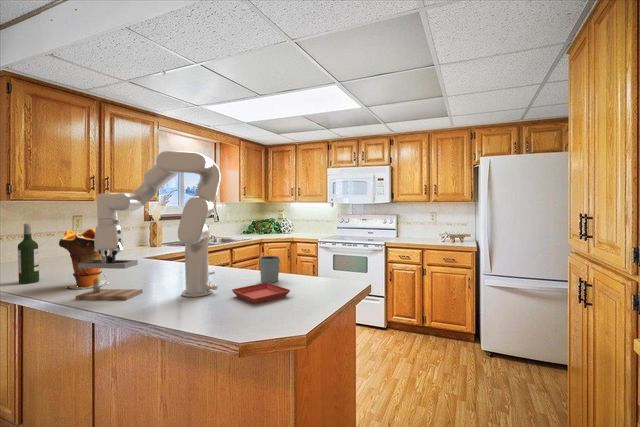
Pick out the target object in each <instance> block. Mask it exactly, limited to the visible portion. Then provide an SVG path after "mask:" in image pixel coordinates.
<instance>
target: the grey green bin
mask: <svg viewBox="0 0 640 427" xmlns="http://www.w3.org/2000/svg"><path fill="white" fill-rule="evenodd" d="M280 259H281V257H280V256H278V255H264V256H260V257H259V269H260V270H259V271H260V272H259V273H260V282H261V283H270V284H273V283H277V282H278V281H279V274H280V272H279V271H280V263H281V260H280Z"/></svg>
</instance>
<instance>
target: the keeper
mask: <svg viewBox="0 0 640 427" xmlns="http://www.w3.org/2000/svg"><path fill="white" fill-rule="evenodd" d="M100 281H101V280H100V278H99V279H98V278H95V279H94V280H93V287H92V289H91V290H89V291H86V292H83V293H80V294H77V295H75V300H76V301H77V300H80V301H81V300H82V301H87V300H88V301H89V300H90V301H91V300H92V301H95V300H97V301H98V300H99V301H115V300H116V301H128V300H130V299H132V298H134V296H135V297H137V296H139V295H140V294H143V292H144V291H143V289H139V288H138V289H134V288H133V289H129V288H127V289H126V288H125V289H123V288H119V289H118V288H117V289H115V288H114V289H113V288H111V289H109V288H107V289H106V288H105V289H104V288H103V289H102V288H101V286H100Z"/></svg>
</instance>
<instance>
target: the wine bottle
mask: <svg viewBox="0 0 640 427" xmlns="http://www.w3.org/2000/svg"><path fill="white" fill-rule="evenodd" d="M31 227H32V224H31V223H29V222H28V223H23V239H22V240H21V241H20V243H18V245H17V266H18V267H17V268H18V269H17V270H18V271H17V272H18V274H17V275H18V284H20V285H28V284H29V285H30V284H34V283H39V281H40V264H39V263H40V262H39V260H40V259H39V256H40V255H39V244H38V243H37V241H35V240H33V238H32V228H31Z"/></svg>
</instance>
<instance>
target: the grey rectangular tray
mask: <svg viewBox="0 0 640 427" xmlns="http://www.w3.org/2000/svg"><path fill="white" fill-rule="evenodd" d="M116 256H117V255H116ZM116 256H115V263H108V257H109V253H108V255H103V256H101V260H91V261H86V262H82V263H78V268H100V269H109V270H110V269H114V270H115V269H118V270H120V269H121V270H122V269H123V270H124V269H129V268H132V267H136V266H138V265H139V260H138V259H117V258H116Z"/></svg>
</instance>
